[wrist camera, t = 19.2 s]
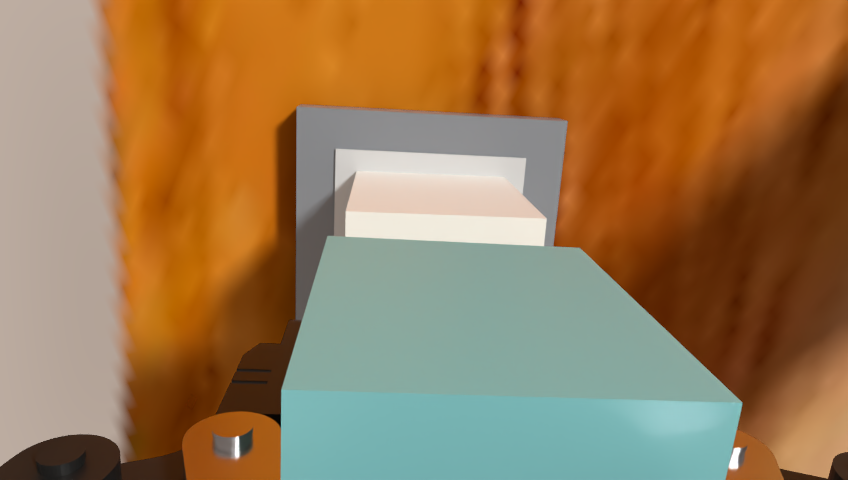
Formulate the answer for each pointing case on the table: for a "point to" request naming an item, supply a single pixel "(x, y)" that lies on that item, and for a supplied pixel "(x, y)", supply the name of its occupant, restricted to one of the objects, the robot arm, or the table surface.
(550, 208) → the baseplate
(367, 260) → the teal brick
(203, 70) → the table surface
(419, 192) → the cream brick
